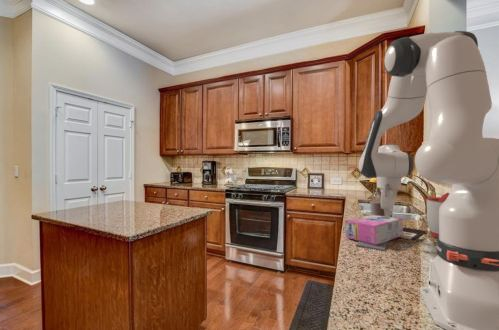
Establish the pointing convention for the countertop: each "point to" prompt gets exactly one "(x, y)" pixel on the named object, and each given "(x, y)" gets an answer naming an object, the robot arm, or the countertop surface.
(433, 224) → the citrus juicer
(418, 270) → the countertop surface
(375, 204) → the pillar candle
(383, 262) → the countertop surface
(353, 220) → the gum box
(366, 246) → the mat
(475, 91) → the robot arm
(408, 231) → the chocolate bar
